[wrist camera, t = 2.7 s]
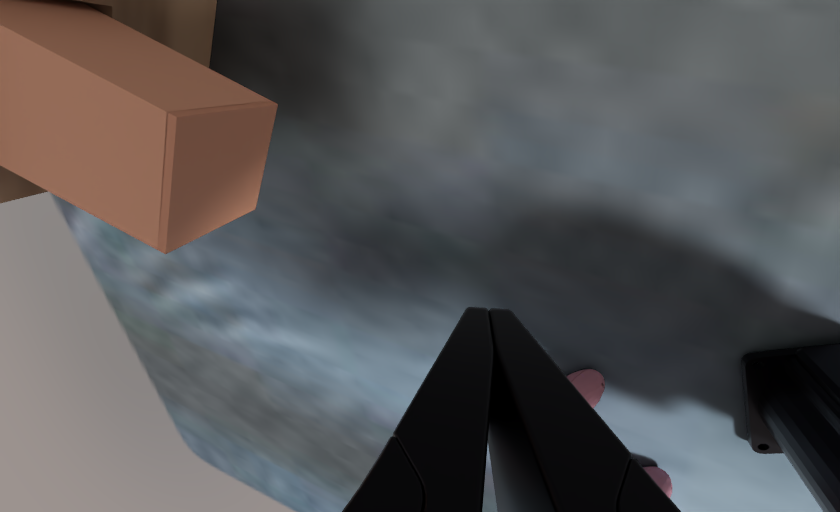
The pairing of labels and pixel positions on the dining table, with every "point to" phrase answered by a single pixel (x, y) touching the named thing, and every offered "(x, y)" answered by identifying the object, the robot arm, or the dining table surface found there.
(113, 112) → the peg
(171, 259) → the dining table surface
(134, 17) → the sleeve block
